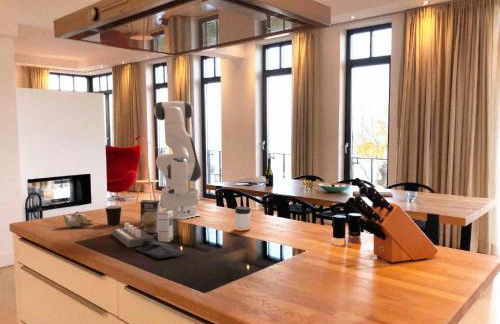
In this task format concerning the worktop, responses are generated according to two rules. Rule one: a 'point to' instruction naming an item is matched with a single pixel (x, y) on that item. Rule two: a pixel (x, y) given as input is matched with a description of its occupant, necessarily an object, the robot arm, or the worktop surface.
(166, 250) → the dark slate chunk
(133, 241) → the breaker panel
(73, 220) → the ceramic sculpture
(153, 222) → the coffee box
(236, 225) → the jar
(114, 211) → the coffee mug
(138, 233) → the breaker paddles
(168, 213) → the syrup box
